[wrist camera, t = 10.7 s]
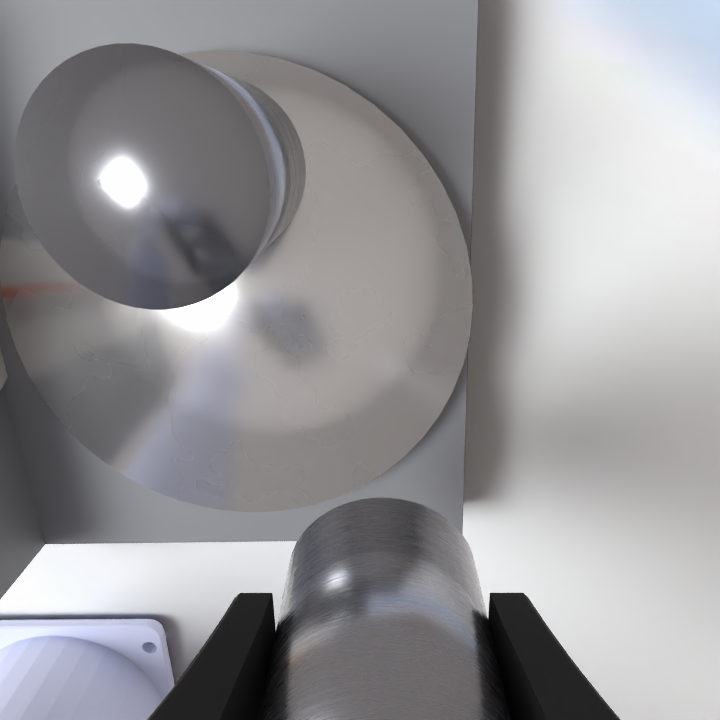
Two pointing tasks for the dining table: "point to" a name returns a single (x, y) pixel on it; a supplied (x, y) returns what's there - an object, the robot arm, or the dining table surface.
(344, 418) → the pan
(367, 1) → the scale
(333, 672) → the cylinder
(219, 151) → the cylinder
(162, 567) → the dining table surface
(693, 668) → the dining table surface
